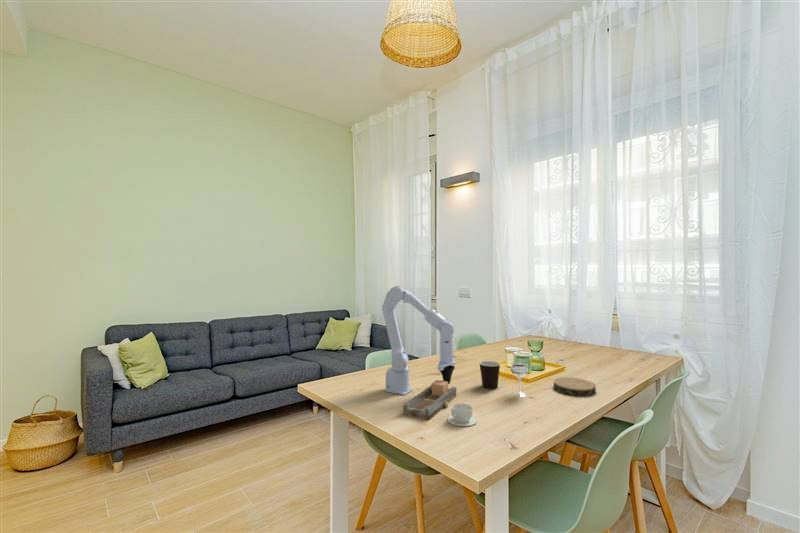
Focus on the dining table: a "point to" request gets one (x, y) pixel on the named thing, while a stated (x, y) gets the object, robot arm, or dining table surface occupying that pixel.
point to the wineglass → (519, 374)
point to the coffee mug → (489, 374)
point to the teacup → (462, 415)
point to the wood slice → (574, 386)
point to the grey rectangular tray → (428, 403)
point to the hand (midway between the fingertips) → (447, 383)
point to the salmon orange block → (439, 387)
